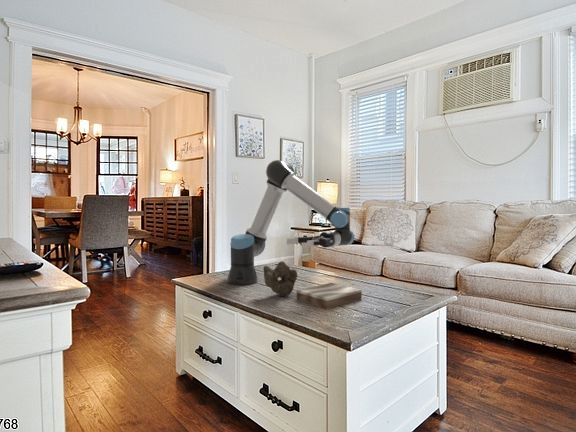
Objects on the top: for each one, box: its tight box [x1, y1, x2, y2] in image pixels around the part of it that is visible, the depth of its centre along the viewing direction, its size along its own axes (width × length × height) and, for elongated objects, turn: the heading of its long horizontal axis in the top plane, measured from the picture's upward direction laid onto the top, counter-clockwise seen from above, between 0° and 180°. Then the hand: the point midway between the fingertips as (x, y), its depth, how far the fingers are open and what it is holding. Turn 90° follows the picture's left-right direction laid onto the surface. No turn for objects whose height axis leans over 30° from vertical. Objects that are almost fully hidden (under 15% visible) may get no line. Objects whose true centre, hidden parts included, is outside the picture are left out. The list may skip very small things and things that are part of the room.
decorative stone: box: [262, 260, 298, 298], centre depth 159 cm, size 16×11×15 cm
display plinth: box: [296, 282, 362, 309], centre depth 152 cm, size 17×21×4 cm
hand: (297, 242), depth 164 cm, fingers open, 13 cm apart
